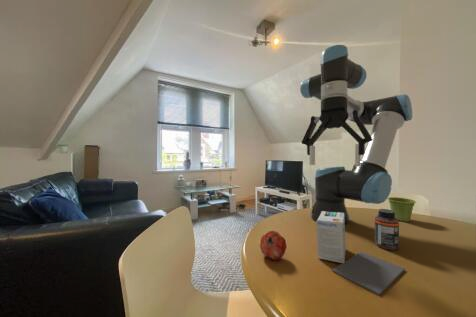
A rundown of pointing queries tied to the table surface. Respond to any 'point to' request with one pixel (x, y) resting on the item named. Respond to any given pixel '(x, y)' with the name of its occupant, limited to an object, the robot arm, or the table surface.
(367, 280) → the mat
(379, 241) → the supplement bottle
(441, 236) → the table surface
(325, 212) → the light bulb box
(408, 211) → the plant pot
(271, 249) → the red round fruit
